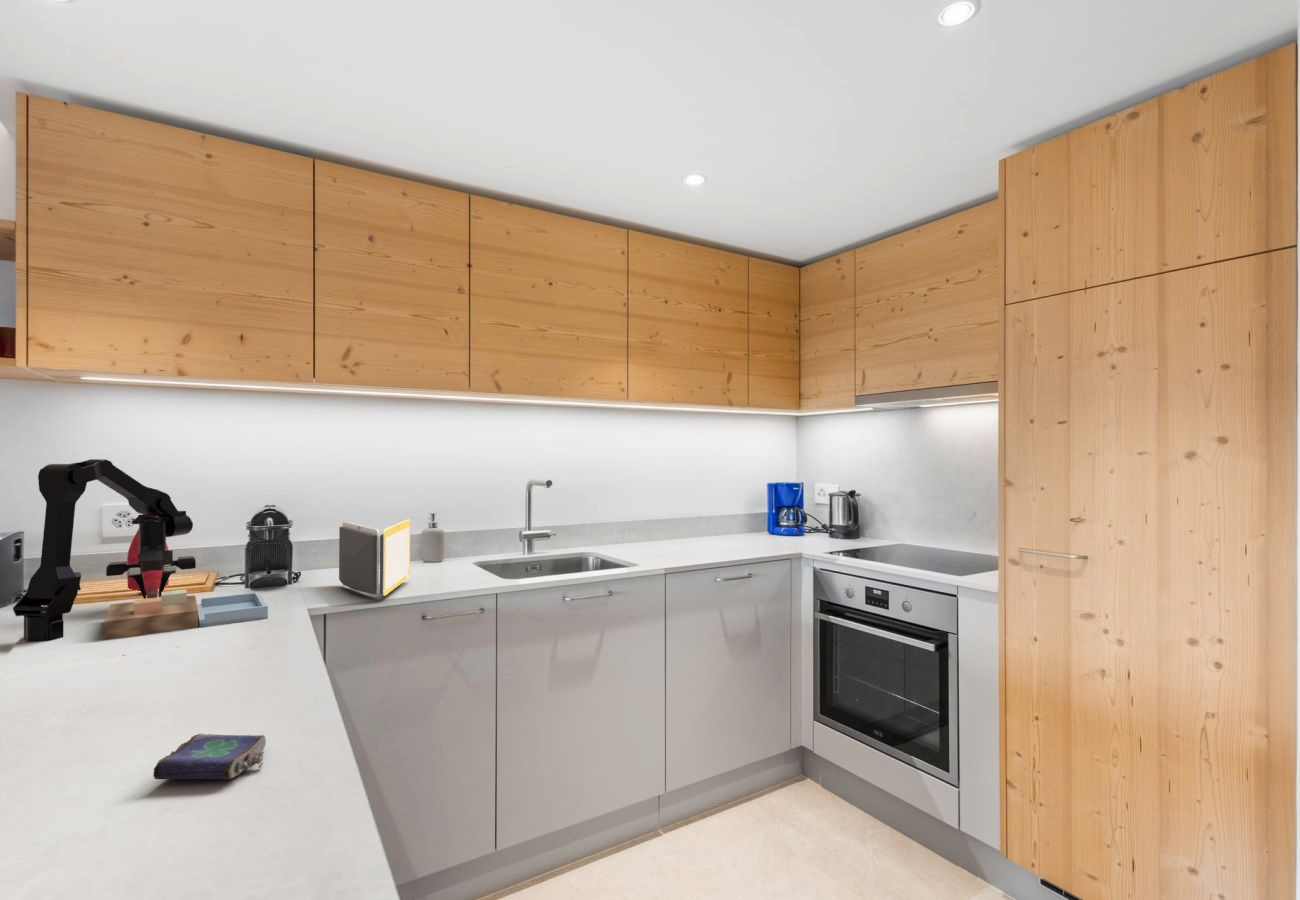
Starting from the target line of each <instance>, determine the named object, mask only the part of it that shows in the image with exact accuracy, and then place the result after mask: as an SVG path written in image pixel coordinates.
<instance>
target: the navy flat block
mask: <svg viewBox="0 0 1300 900" xmlns="http://www.w3.org/2000/svg"><path fill="white" fill-rule="evenodd" d="M266 744H267V741H266V736H265V735H264V734H263V735H261V734H260V735H258V734H257V735H250V734H248V735H247V734H245V735H243V734H237V735H235V734H216V733H215V734H211V733H206V734H205V733H198V734H195V735H193V736H191V737H190V739H189V740H187V741H185V742H183V743H181V744H180V745H179V746H178V747H177V749H176V750H175V751H174V750H172V751H171V753H170V754H169V755H165V756H164V757H162V758H161V759H159V760H158V762H157V763H156V765H155V767H153V773H152V774H153V777H154V780H190V779H191V780H194V779H195V780H197V779H199V780H232V779H234V778H235V777H238V776H239V775H241V774H242V773H243V772H244V771H246V770H247V769H250V768H252V767H253V766H254V765H255V766H256V764H257V765H258V768H259V769H260V768H262V766H263V765H264V762H263V760H264V754H265V751H264V749H265V747H266Z"/></svg>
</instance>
